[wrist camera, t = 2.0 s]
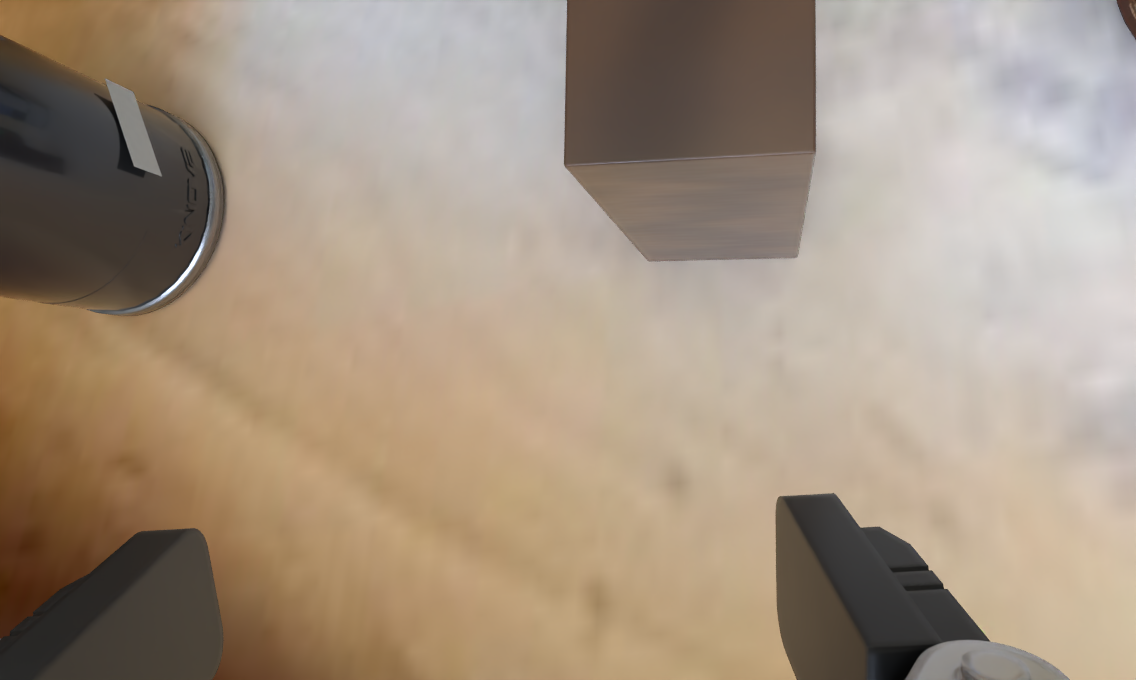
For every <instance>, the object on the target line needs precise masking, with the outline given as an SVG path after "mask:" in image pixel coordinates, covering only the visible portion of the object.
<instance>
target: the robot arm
mask: <svg viewBox="0 0 1136 680" xmlns="http://www.w3.org/2000/svg"><path fill="white" fill-rule="evenodd" d="M105 80H106V83H107V85H105V84H103V83H101V82H98V81H96V80H94V79H92V78H90V77H88V76H86V75H84V74H82V73H80V72H77V71H75V70H73V69H71V68H69V67H67V66H65V65H63V64H61V63H59V62H56V61H54V60H52V59H50V58H48V57H46V56H44V55H42V54H40V53H38V52H35V51H33V50H31V49H29V48H27V47H25V46H23V45H21V44H19V43H17V42H14V41H12V40H10V39H8V38H6V37H4V36H2V35H0V297H6V298H13V299H20V300H27V301H34V302H40V303H46V304H53V305H61V306H68V307H75V308H83V309H87V310H90V311H93V312H97V313H103V314H110V315H118V316H134V315H140V314H145V313H149V312H152V311H155V310H157V309H159V308H162V307H164V306H165V305H167V304H169V303H171V302H172V301H174V300H175V299H176V298H178V297H179V296H180V295H181V294H183V293H184V292H185V291H186V290H187V289H188V288H189V287H190V286H191V285H192V284H193V283H194V282H195V280H196V279H197V278H198V277H199V275H200V274H201V272H202V271H203V270H204V268H205V266H206V265H207V263H208V261H209V259H210V257H211V255H212V253H213V251H214V249H215V246H216V243H217V240H218V237H219V233H220V229H221V224H222V219H223V208H224V196H223V185H222V180H221V175H220V171H219V168H218V165H217V162H216V160H215V157H214V155H213V153H212V151H211V149H210V148H209V146H208V145H207V143H206V142H205V140H204V139H203V138H202V136H201V135H200V134H199V133H198V132H197V131H196V130H195V129H194V128H193V127H192V126H190V125H189V124H188V123H186V122H185V121H183V120H182V119H180V118H178V117H176V116H174V115H172V114H170V113H168V112H166V111H164V110H161V109H159V108H156V107H153V106H150V105H146V104H143V103H141V102H139V101H137V100H136V98H135V95H134V92H132V91H130V90H128V89H126V88H124V87H122V86H120V85H118V84H116V83H114V82H112V81H110V80H107V79H105ZM776 582H777V612H778V620H779V627H780V633H781V637H782V642H783V645H784V648H785V651H786V654H787V656H788V659H789V661H790V664H791V666H792V669H793V671H794V674H795V676H796V679H797V680H1070V679H1069V678H1068V677H1067V676H1066V675H1064V674H1063V673H1062V672H1061V671H1060V670H1059V669H1057V668H1056V667H1054V666H1053V665H1051V664H1050V663H1048V662H1047V661H1045V660H1043V659H1041V658H1039V657H1037V656H1035V655H1033V654H1031V653H1028V652H1026V651H1024V650H1021V649H1017V648H1014V647H1011V646H1008V645H1004V644H999V643H995V642H990V640H989V639H988V638H987V637H986V636H985V634H984V633H983V632H982V631H981V630H980V628H979V627H978V626H977V625H976V623H975V622H974V621H973V620H972V619H971V617H970V616H969V615H968V614H967V613H966V611H965V610H964V609H963V608H962V607H961V605H960V604H959V603H958V602H957V600H956V599H955V598H954V597H953V596H952V594H951V593H950V592H949V591H948V590H947V589H944V587H943V583H942V582H941V581H940V580H939V579H938V577H937V576H936V575H935V574H934V573H933V571H932V570H931V571H929V569H928V565H927V564H926V563H925V562H924V560H923V559H922V558H921V557H920V556H919V554H918V553H917V552H916V551H915V549H914V548H913V547H912V546H911V545H910V544H909V543H907V542H905V541H903V540H902V539H900V538H898V537H896V536H895V535H893V534H891V533H889V532H888V531H886V530H884V529H882V528H880V527H867V528H860V527H859V526H858V524H857V523H856V521H855V520H854V519H853V517H852V516H851V515H850V513H849V512H848V510H847V509H846V508H845V506H844V505H843V504H842V502H841V501H840V499H839V498H838V497H837V496H836V494H834V493H832V494H814V495H797V496H780V497H779V498H778V500H777V504H776ZM222 651H223V627H222V621H221V616H220V610H219V605H218V600H217V594H216V589H215V583H214V578H213V572H212V567H211V562H210V556H209V551H208V546H207V542H206V540H205V538H204V536H203V534H202V533H201V532H200V531H199V530H198V529H195V528H192V529H174V530H156V531H141V532H138V533H137V534H135V535H134V536H133V537H132V538H130V539H129V540H128V541H127V542H126V543H125V544H123V545H122V546H121V547H120V548H119V549H118V550H116V551H115V552H114V553H113V554H112V555H111V556H109V557H108V558H107V559H106V560H105V561H104V562H102V563H101V564H100V565H99V566H98V567H97V568H95V569H94V570H93V571H92V572H91V573H90V574H88V575H86V576H84V577H82V578H80V579H78V580H77V581H75V582H73V583H71V584H69V585H67V586H65V587H64V588H62V589H60V590H59V591H58V592H57V593H55V594H54V595H53V596H52V597H51V598H49V599H48V600H47V601H46V602H45V603H44V604H42V605H41V606H40V607H39V608H38V609H36V610H35V611H34V612H33V617H27V618H26V619H24V620H23V621H22V622H21V623H20V624H19V625H17V626H16V627H15V628H14V629H13V630H11V631H10V636H5V637H3V638H2V639H1V640H0V680H212V679H213V677H214V676H215V674H216V672H217V670H218V667H219V664H220V661H221V656H222Z"/></svg>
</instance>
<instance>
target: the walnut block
mask: <svg viewBox="0 0 1136 680" xmlns="http://www.w3.org/2000/svg"><path fill="white" fill-rule="evenodd" d="M815 153H816V16H815V0H567V35H566V88H565V142H564V165H565V167H566V168H567V169H568V170H569V171H570V173H571V174H572V175H573V176H574V177H575V178H576V179H577V181H578V182H579V183H580V184H581V185H582V186H583V187H584V189H585V190H586V191H587V192H588V193H589V194H590V195H591V196H592V198H593V199H594V200H595V201H596V202H597V203H598V204H599V206H600V207H601V208H602V209H603V210H604V211H605V212H606V214H607V215H608V216H609V217H610V218H611V219H612V220H613V222H614V223H615V224H616V225H617V226H618V227H619V228H620V229H621V231H622V232H623V233H624V234H625V235H626V236H627V237H628V239H629V240H630V241H631V242H632V243H633V244H634V245H635V247H636V248H637V249H638V250H639V251H640V252H641V253H642V255H643V256H644V257H645V258H646V259H647V260H648V261H678V260H721V259H764V258H796V257H797V256H798V251H799V246H800V240H801V234H802V228H803V223H804V217H805V211H806V205H807V200H808V194H809V188H810V182H811V176H812V171H813V165H814V159H815Z"/></svg>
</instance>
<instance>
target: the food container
mask: <svg viewBox="0 0 1136 680" xmlns="http://www.w3.org/2000/svg"><path fill="white" fill-rule="evenodd" d="M1117 4H1118V6H1119V9H1120V11H1121V13H1122V16H1123V18H1124V21H1125V23H1126V25H1127V26H1128V28H1129V29H1130V31H1131V33H1132V34H1133V36H1134V37H1135V39H1136V0H1117Z"/></svg>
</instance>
